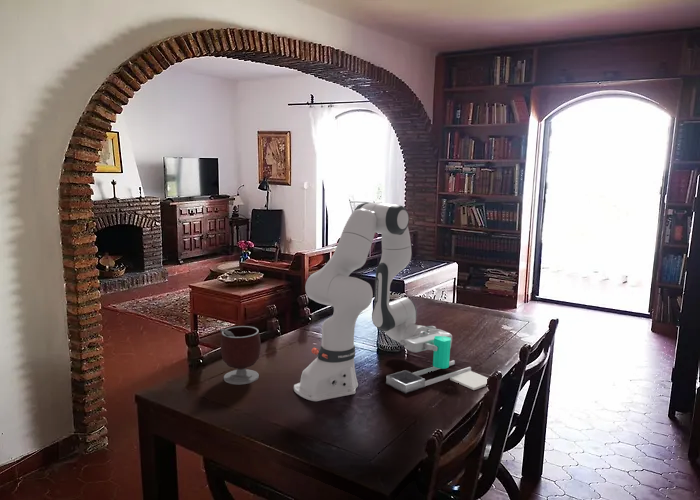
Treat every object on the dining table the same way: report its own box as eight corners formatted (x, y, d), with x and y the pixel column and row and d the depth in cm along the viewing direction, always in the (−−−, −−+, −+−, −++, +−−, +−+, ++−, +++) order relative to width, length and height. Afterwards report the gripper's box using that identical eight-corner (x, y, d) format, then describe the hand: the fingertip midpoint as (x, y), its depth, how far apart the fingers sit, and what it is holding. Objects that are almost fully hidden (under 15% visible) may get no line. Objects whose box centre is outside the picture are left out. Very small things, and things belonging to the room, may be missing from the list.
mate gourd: (244, 367, 204) (242, 315, 201) (269, 376, 196) (268, 323, 192) (209, 379, 193) (207, 325, 189) (234, 390, 184) (233, 333, 181)
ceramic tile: (473, 390, 186) (474, 388, 186) (449, 379, 195) (450, 377, 195) (494, 382, 193) (494, 380, 192) (470, 372, 201) (470, 370, 201)
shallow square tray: (405, 393, 183) (405, 385, 182) (386, 383, 191) (386, 375, 190) (424, 387, 188) (425, 379, 188) (405, 377, 196) (405, 370, 195)
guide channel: (424, 386, 189) (424, 382, 189) (407, 378, 196) (407, 374, 195) (470, 371, 203) (471, 367, 203) (453, 363, 210) (453, 360, 210)
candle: (430, 366, 198) (432, 334, 196) (435, 361, 203) (437, 330, 201) (446, 369, 195) (448, 337, 193) (451, 364, 200) (453, 333, 198)
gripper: (397, 333, 201) (423, 343, 191) (436, 325, 214) (463, 334, 203) (396, 349, 202) (422, 361, 192) (435, 340, 215) (462, 350, 204)
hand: (443, 347), depth 197 cm, fingers closed on candle, 5 cm apart
